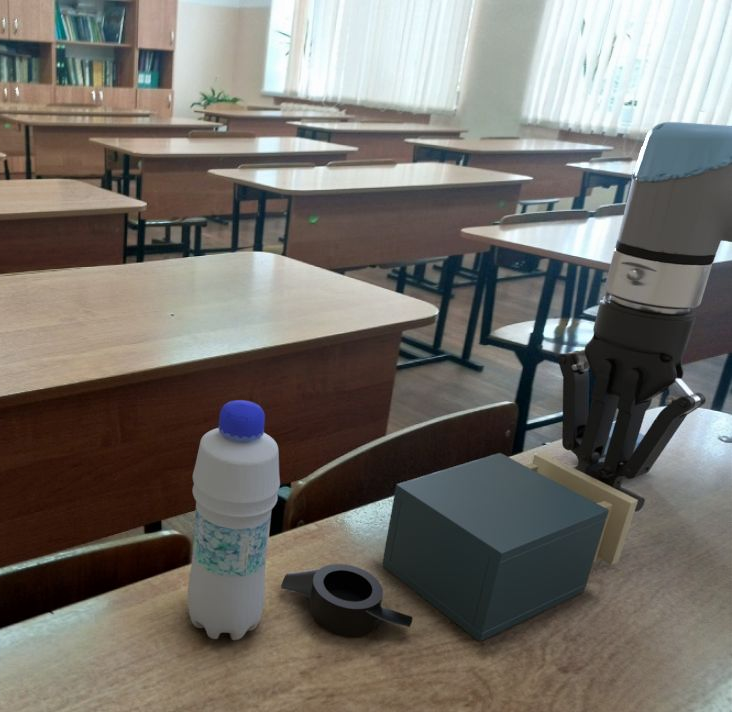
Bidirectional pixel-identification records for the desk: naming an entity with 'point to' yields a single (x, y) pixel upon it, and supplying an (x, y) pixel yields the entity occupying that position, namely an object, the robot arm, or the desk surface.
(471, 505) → the cabinet
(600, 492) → the drawer
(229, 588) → the bottle
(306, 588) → the black winged ring
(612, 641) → the desk surface
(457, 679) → the desk surface
